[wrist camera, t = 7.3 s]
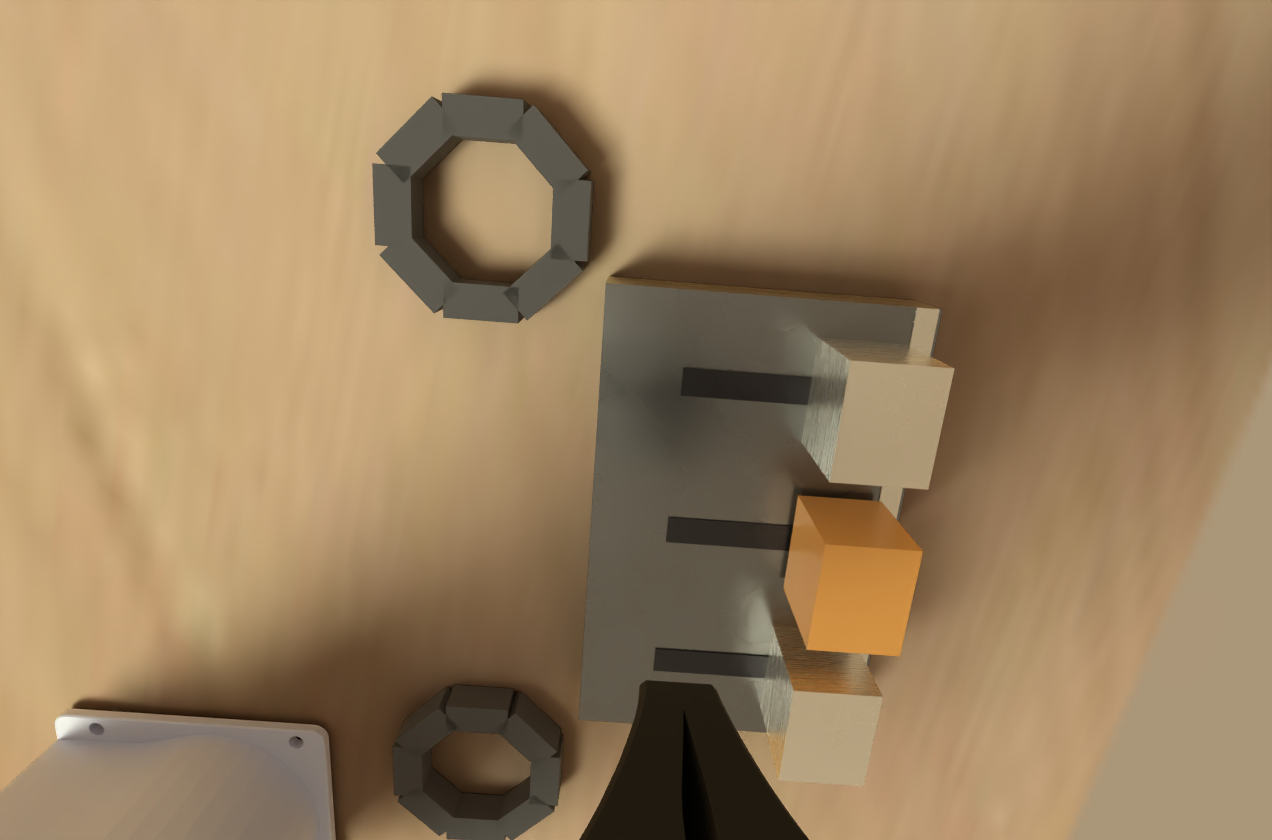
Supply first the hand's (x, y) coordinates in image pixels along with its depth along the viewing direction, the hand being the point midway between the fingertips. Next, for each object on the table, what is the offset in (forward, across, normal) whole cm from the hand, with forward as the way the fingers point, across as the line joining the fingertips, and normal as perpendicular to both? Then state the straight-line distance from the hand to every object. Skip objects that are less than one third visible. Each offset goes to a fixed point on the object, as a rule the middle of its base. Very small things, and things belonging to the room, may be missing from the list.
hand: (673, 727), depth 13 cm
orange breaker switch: (+8, -5, 0) cm, 9 cm away
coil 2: (+10, +6, +10) cm, 15 cm away
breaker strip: (+10, -2, 0) cm, 10 cm away
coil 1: (+10, +6, -9) cm, 14 cm away
